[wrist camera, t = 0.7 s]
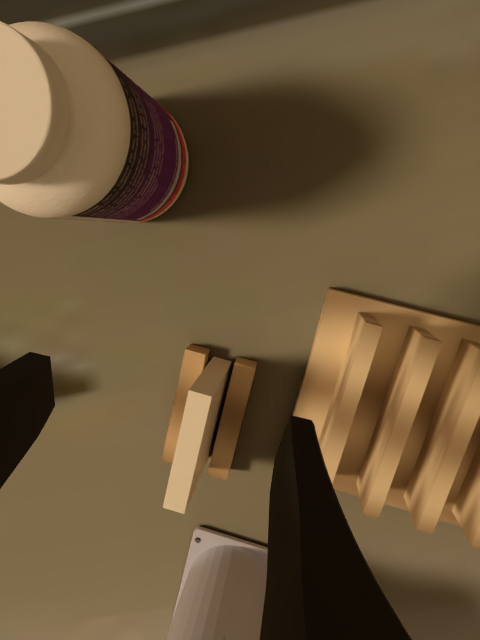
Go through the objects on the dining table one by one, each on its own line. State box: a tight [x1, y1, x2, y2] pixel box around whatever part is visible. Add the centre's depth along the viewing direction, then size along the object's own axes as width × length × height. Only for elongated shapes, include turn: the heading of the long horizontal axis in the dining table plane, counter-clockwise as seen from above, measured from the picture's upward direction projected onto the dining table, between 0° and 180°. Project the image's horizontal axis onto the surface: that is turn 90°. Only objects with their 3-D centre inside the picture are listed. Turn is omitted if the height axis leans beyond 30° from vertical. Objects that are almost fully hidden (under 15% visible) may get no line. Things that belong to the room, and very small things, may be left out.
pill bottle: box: [0, 21, 189, 223], centre depth 22 cm, size 8×8×14 cm
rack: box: [293, 288, 480, 549], centre depth 27 cm, size 14×19×4 cm
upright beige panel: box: [163, 357, 232, 514], centre depth 29 cm, size 8×1×7 cm, turn 167°
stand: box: [162, 344, 258, 480], centre depth 31 cm, size 9×5×2 cm, turn 167°
